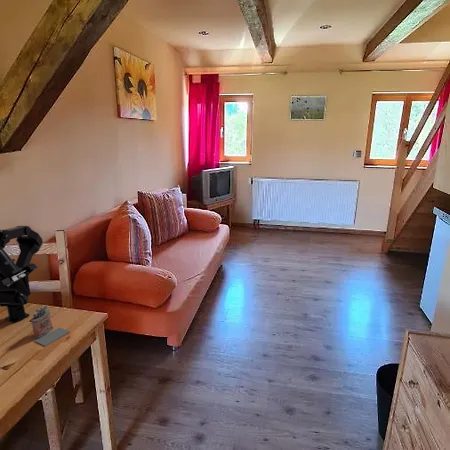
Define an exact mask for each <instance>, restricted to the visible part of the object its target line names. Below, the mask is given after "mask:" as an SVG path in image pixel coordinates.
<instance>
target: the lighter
mask: <svg viewBox="0 0 450 450" xmlns="http://www.w3.org/2000/svg"><path fill="white" fill-rule="evenodd" d="M32 315H33V317H32V318H31V319H30V323H31V326H32V331H33V332H32V333H33V339H34V340H37V339H39V338H41V337H43V336H45V335H46V334H48V333H50V332H52V331H53V329H54V326H53V324H52V318H51V310H50V309H48V305H46V304H45V305H43V306H41V307H40V308H36V310H35V311H33V313H32Z"/></svg>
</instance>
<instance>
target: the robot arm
mask: <svg viewBox="0 0 450 450" xmlns="http://www.w3.org/2000/svg"><path fill="white" fill-rule="evenodd" d="M14 239H15V240H16V242H17V244H18V247H19V250H20V252H19V254H18V257H17V259H15V258H11V257H10V256H9V255H8V253H7V252H6V251H5V248H6V245H7V244H9V243H10V242H11V240H14ZM43 242H44V241H43V238H42V237H41V235H40V233H38V232H36V231H35V230H33V229H32V228H31V227H30V226H29V225H17V226H14V227H10V228H6V229H0V308H2V307H6V310H7V316H5V317H4V319H5V320H6V321H8V322H11V323H13V324H15V323H17V322H19V321H22V320H23V319H26V318H27V317H29V316H30V314H29V313H27V312H26V310H25V305H27V304H28V302H29V296H31V295H32V294H31V289H30V287H31V286H30V283H29V282H30V281H29V276H30V274H31V273H33V272H34V271H35V270H37V269H38V267H37V265H36V264H35V263H32V262H31V261H32V259H33V256H34V255H36V253H37V254H38V252H39V251H40V250H41V247H42V245H43ZM14 262H15V263H14Z"/></svg>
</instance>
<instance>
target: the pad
mask: <svg viewBox="0 0 450 450" xmlns="http://www.w3.org/2000/svg"><path fill="white" fill-rule="evenodd" d="M70 333H71V331H70V330H67V329H64V328H63V327H60V326H59V327H56V328H55V329H54V330H51V331H50V332H49V333H48V334H46V335H45V336H43V337H41V338H39V339H34V342H35V343H36V344H39V345H42V346H43V347H47V346H49V345H51V344H52V343H54V342H55V341H58V340H59V339H61V338H63V337H64V336H66V335H67V334H70Z"/></svg>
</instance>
